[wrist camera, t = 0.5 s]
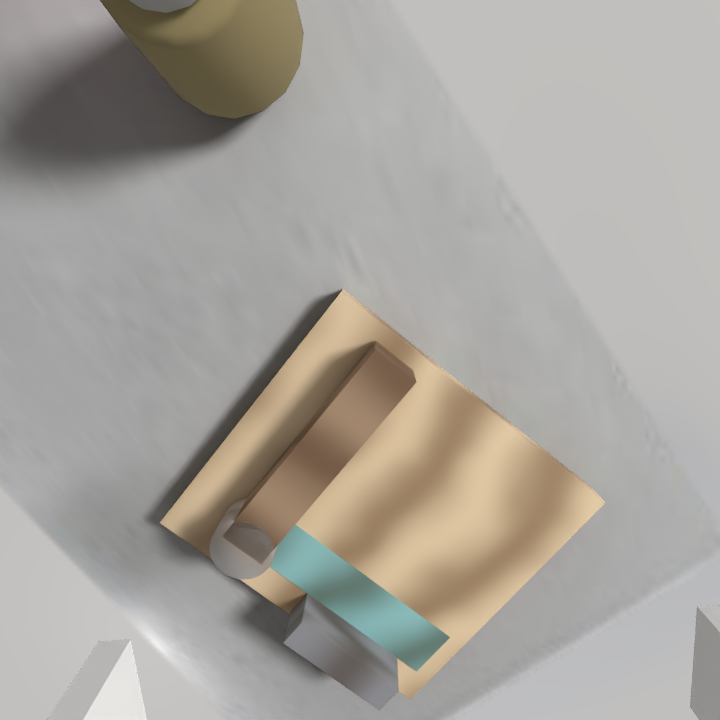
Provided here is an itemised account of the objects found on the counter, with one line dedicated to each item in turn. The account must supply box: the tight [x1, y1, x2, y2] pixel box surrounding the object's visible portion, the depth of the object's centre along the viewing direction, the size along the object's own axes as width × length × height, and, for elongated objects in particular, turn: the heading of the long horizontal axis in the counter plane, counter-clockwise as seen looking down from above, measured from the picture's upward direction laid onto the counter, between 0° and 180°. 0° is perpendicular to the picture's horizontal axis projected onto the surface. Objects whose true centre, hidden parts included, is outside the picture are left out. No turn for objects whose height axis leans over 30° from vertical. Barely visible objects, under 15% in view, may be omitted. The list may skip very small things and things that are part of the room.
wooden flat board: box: [160, 289, 605, 710], centre depth 35 cm, size 22×20×5 cm
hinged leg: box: [210, 340, 416, 579], centre depth 33 cm, size 17×4×3 cm, turn 141°
